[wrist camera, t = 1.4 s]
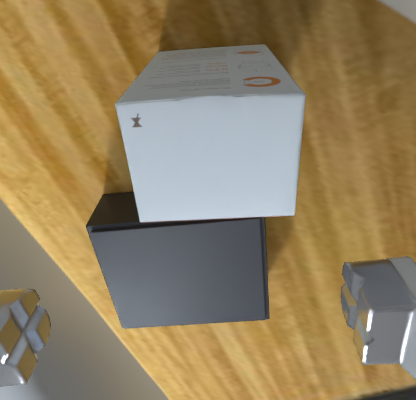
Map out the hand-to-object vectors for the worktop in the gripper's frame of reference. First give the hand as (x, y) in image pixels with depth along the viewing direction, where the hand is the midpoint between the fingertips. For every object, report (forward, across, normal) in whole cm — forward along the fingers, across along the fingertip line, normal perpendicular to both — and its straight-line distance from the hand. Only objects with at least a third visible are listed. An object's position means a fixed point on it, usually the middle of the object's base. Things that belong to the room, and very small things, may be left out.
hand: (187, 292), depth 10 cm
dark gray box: (+21, +4, +14) cm, 25 cm away
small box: (+21, 0, 0) cm, 21 cm away
